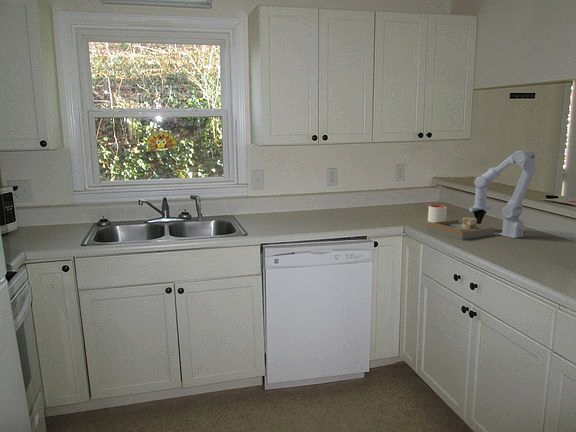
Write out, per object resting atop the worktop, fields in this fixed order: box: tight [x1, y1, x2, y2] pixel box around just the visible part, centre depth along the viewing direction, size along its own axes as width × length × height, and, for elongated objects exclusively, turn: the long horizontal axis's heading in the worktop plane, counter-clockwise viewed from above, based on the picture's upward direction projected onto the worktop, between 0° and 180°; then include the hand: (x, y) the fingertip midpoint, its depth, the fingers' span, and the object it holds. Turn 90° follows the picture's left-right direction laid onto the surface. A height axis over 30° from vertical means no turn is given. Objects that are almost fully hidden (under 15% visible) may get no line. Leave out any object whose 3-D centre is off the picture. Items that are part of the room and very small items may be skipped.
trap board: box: [425, 218, 495, 241], centre depth 255 cm, size 24×24×5 cm
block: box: [461, 216, 477, 229], centre depth 258 cm, size 5×5×5 cm
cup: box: [427, 204, 448, 223], centre depth 278 cm, size 10×10×10 cm
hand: (478, 223), depth 262 cm, fingers closed
